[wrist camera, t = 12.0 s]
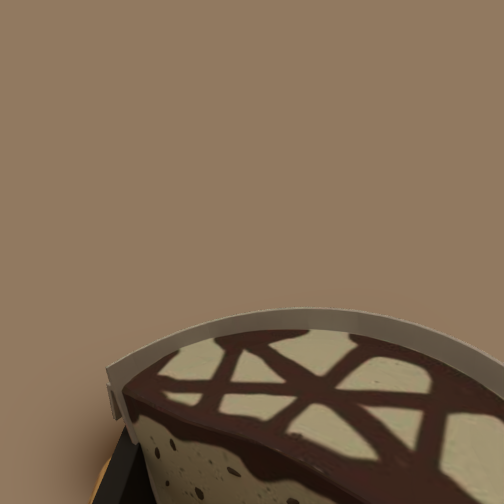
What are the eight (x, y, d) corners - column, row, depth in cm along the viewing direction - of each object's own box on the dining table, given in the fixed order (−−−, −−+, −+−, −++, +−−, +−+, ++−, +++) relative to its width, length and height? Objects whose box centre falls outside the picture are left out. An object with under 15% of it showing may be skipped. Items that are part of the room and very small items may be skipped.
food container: (589, 626, 11) (635, 335, 8) (645, 1030, 6) (803, 660, 3) (258, 465, 18) (224, 285, 15) (168, 590, 13) (95, 362, 11)
